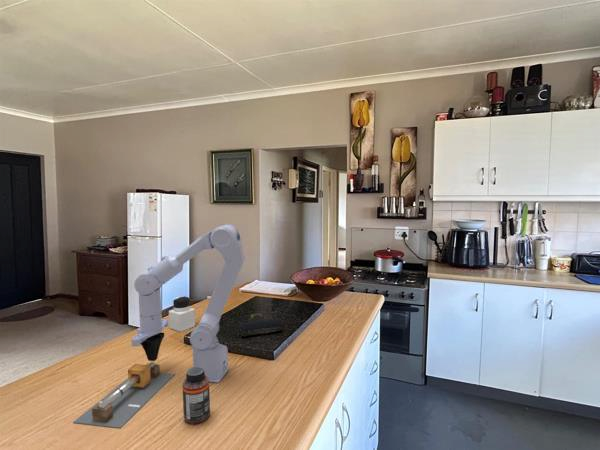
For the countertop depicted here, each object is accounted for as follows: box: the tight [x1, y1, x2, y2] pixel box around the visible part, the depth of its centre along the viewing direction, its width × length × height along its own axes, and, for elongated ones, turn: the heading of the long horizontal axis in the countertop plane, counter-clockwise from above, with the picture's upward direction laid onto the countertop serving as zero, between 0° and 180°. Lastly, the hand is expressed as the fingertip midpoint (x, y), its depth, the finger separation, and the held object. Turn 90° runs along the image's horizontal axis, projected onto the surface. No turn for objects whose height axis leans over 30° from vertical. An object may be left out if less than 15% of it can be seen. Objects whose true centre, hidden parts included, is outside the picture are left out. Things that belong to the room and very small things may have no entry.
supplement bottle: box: [182, 366, 211, 425], centre depth 78 cm, size 6×6×11 cm
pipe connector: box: [239, 313, 282, 331], centre depth 129 cm, size 12×5×15 cm
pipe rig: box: [72, 361, 176, 429], centre depth 86 cm, size 12×23×4 cm, turn 171°
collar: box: [127, 363, 151, 387], centre depth 90 cm, size 4×3×5 cm
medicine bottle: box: [168, 295, 196, 333], centre depth 132 cm, size 7×7×12 cm
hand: (152, 359), depth 96 cm, fingers closed
